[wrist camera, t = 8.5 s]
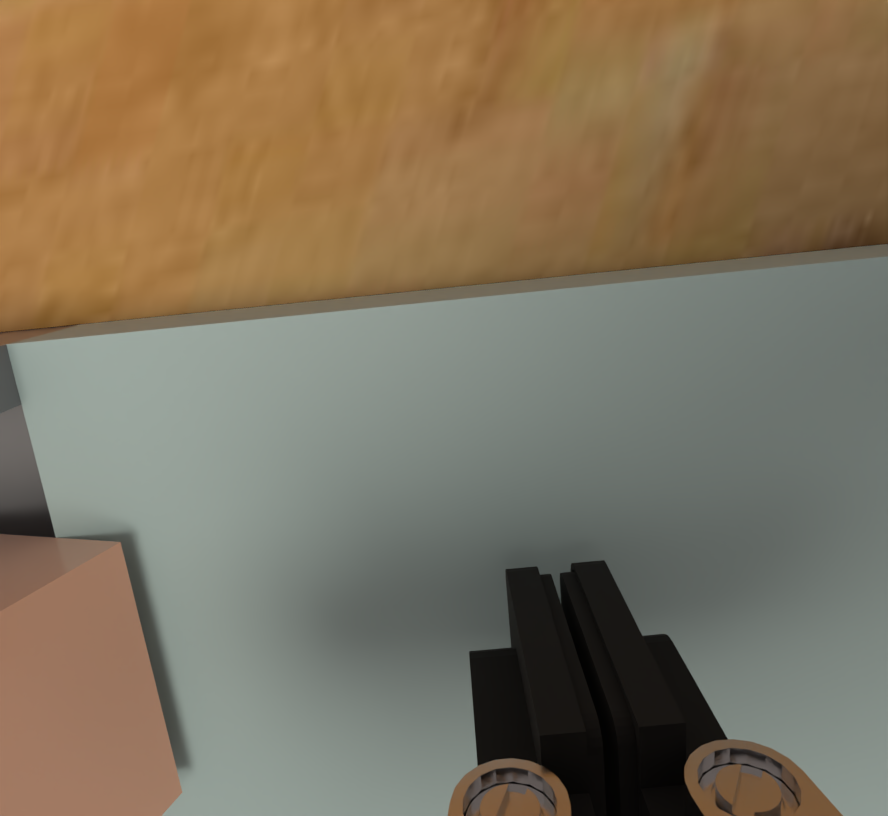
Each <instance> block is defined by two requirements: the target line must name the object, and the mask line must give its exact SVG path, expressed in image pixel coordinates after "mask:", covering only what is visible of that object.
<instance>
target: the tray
mask: <svg viewBox="0 0 888 816" xmlns="http://www.w3.org/2000/svg"><path fill="white" fill-rule="evenodd" d="M79 325H80V324H79ZM73 326H77V325H69V326H59V327H49V328H39V329H29V330H19V331H9V332H0V534H7V535H23V536H38V537H53V538H56V536H55V533H54V529H53V525H52V521H51V517H50V513H49V509H48V505H47V501H46V498H45V494H44V490H43V486H42V482H41V478H40V474H39V470H38V466H37V463H36V459H35V455H34V451H33V447H32V443H31V439H30V435H29V431H28V428H27V424H26V420H25V416H24V412H23V408H22V404H21V400H20V396H19V392H18V389H17V385H16V381H15V377H14V373H13V369H12V365H11V361H10V357H9V354H8V350H7V346H6V344H10V343H13V342H17V341H21V340H25V339H28V338H32V337H36V336H39V335H43V334H47V333H51V332H54V331H58V330H62V329H65V328H69V327H73Z"/></svg>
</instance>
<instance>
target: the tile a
mask: <svg viewBox="0 0 888 816" xmlns="http://www.w3.org/2000/svg"><path fill="white" fill-rule="evenodd" d="M181 793H182V789H181V785H180V781H179V776H178V772H177V768H176V764H175V760H174V756H173V752H172V748H171V744H170V740H169V736H168V732H167V728H166V724H165V720H164V716H163V712H162V708H161V704H160V700H159V696H158V692H157V687H156V683H155V679H154V675H153V671H152V667H151V663H150V659H149V655H148V651H147V647H146V643H145V639H144V635H143V631H142V627H141V623H140V619H139V615H138V611H137V607H136V603H135V598H134V594H133V590H132V586H131V582H130V578H129V574H128V570H127V566H126V562H125V558H124V554H123V550H122V546H121V542H114V541H99V540H84V539H68V538H53V537H38V536H23V535H7V534H0V816H162V815H163V814H164V812H165V811H166V810H167V809H168V808H169V807H170V806H171V805H172V803H173V802H174V801H175V800H176V799H177V798H178V797H179V796H180V794H181Z"/></svg>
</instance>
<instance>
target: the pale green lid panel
mask: <svg viewBox="0 0 888 816" xmlns="http://www.w3.org/2000/svg"><path fill="white" fill-rule="evenodd" d="M6 346H7V350H8V354H9V357H10V361H11V365H12V369H13V373H14V377H15V381H16V385H17V389H18V392H19V396H20V400H21V404H22V408H23V412H24V416H25V420H26V424H27V428H28V431H29V435H30V439H31V443H32V447H33V451H34V455H35V459H36V463H37V466H38V470H39V474H40V478H41V482H42V486H43V490H44V494H45V498H46V501H47V505H48V509H49V513H50V517H51V521H52V525H53V529H54V533H55V536H56V538H68V539H84V540H99V541H114V542H121V546H122V550H123V554H124V558H125V562H126V566H127V570H128V574H129V578H130V582H131V586H132V590H133V594H134V598H135V603H136V607H137V611H138V615H139V619H140V623H141V627H142V631H143V635H144V639H145V643H146V647H147V651H148V655H149V659H150V663H151V667H152V671H153V675H154V679H155V683H156V687H157V692H158V696H159V700H160V704H161V708H162V712H163V716H164V720H165V724H166V728H167V732H168V736H169V740H170V744H171V748H172V752H173V756H174V760H175V764H176V768H177V772H178V776H179V781H180V785H181V789H182V793H181V794H180V796H179V797H178V798H177V799H176V800H175V801H174V802H173V803H172V805H171V806H170V807H169V808H168V809H167V810H166V811H165V812H164V814H163V815H162V816H448V810H449V804H450V800H451V797H452V794H453V791H454V789H455V786H456V785H457V784H458V783H459V781H460V780H461V779H462V778H463V777H464V775H465V774H467V773H468V772H470V771H471V770H473V769H474V768H476V767H477V766H478V765H477V752H476V738H475V725H474V712H473V698H472V685H471V672H470V658H469V651H477V650H488V649H499V648H511V638H510V626H509V613H508V601H507V588H506V574H505V570H506V569H513V568H524V567H535V566H537V567H538V570H539V573H540V575H541V574H551V575H552V578H553V581H554V584H555V587H556V590H557V593H558V596H559V600H560V603H561V593H560V573H563V572H571V563H579V562H590V561H601V560H604V561H605V562H606V564H607V566H608V568H609V570H610V572H611V574H612V576H613V578H614V580H615V582H616V584H617V586H618V588H619V590H620V592H621V594H622V596H623V598H624V600H625V602H626V604H627V606H628V608H629V610H630V612H631V614H632V616H633V618H634V620H635V622H636V624H637V626H638V628H639V630H640V632H641V634H642V636H645V635H656V634H666V635H668V636H669V637H670V638H671V640H672V641H673V643H674V645H675V647H676V648H677V650H678V652H679V654H680V655H681V657H682V659H683V661H684V663H685V664H686V666H687V668H688V670H689V671H690V673H691V675H692V677H693V678H694V680H695V682H696V684H697V685H698V687H699V689H700V691H701V693H702V694H703V696H704V698H705V700H706V701H707V703H708V705H709V707H710V708H711V710H712V712H713V714H714V716H715V717H716V719H717V721H718V723H719V724H720V726H721V728H722V730H723V731H724V733H725V735H726V737H727V738H728V739H736V740H743V741H751V742H755V743H758V744H761V745H763V746H766V747H769V748H772V749H774V750H775V751H777V752H779V753H781V754H783V755H784V756H786V757H788V758H789V759H791V760H792V761H793V762H794V763H795V764H796V765H797V766H798V767H800V768H801V769H802V770H803V771H804V772H805V773H806V774H807V776H808V777H809V778H810V779H811V780H812V781H813V782H814V783H815V785H816V786H817V787H818V788H819V789H820V790H821V791H822V793H823V794H824V795H825V796H826V797H827V798H828V799H829V800H830V802H831V803H832V804H833V805H834V806H835V807H836V808H837V810H838V811H839V812H840V813H841V814H842V815H843V816H888V244H881V245H871V246H861V247H851V248H841V249H831V250H821V251H811V252H801V253H791V254H781V255H770V256H760V257H750V258H740V259H730V260H720V261H710V262H700V263H690V264H680V265H670V266H660V267H650V268H640V269H630V270H620V271H610V272H600V273H590V274H580V275H570V276H560V277H550V278H540V279H530V280H520V281H510V282H500V283H490V284H480V285H470V286H460V287H450V288H440V289H430V290H420V291H410V292H400V293H390V294H380V295H370V296H360V297H350V298H340V299H330V300H320V301H310V302H300V303H290V304H280V305H270V306H260V307H250V308H240V309H229V310H219V311H209V312H199V313H189V314H179V315H169V316H159V317H149V318H139V319H129V320H119V321H109V322H99V323H89V324H80V325H77V326H73V327H69V328H65V329H62V330H58V331H54V332H51V333H47V334H43V335H39V336H36V337H32V338H28V339H25V340H21V341H17V342H13V343H10V344H6Z"/></svg>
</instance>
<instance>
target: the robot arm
mask: <svg viewBox="0 0 888 816" xmlns="http://www.w3.org/2000/svg"><path fill="white" fill-rule="evenodd" d="M505 574H506V588H507V601H508V613H509V626H510V638H511V648H499V649H488V650H477V651H469V658H470V672H471V685H472V698H473V712H474V725H475V738H476V752H477V765H478V766H477V767H476V768H474V769H473V770H471V771H470V772H468V773H467V774H465V775H464V777H463V778H462V779H461V780H460V781H459V783H458V784H457V785H456V786H455V789H454V791H453V794H452V797H451V800H450V804H449V810H448V816H843V815H842V814H841V813H840V812H839V811H838V810H837V808H836V807H835V806H834V805H833V804H832V803H831V802H830V800H829V799H828V798H827V797H826V796H825V795H824V794H823V793H822V791H821V790H820V789H819V788H818V787H817V786H816V785H815V783H814V782H813V781H812V780H811V779H810V778H809V777H808V776H807V774H806V773H805V772H804V771H803V770H802V769H801V768H800V767H798V766H797V765H796V764H795V763H794V762H793V761H792V760H791V759H789V758H788V757H786V756H784V755H783V754H781V753H779V752H777V751H775V750H774V749H772V748H769V747H766V746H763V745H761V744H758V743H755V742H751V741H743V740H736V739H728V738H727V737H726V735H725V733H724V731H723V730H722V728H721V726H720V724H719V723H718V721H717V719H716V717H715V716H714V714H713V712H712V710H711V708H710V707H709V705H708V703H707V701H706V700H705V698H704V696H703V694H702V693H701V691H700V689H699V687H698V685H697V684H696V682H695V680H694V678H693V677H692V675H691V673H690V671H689V670H688V668H687V666H686V664H685V663H684V661H683V659H682V657H681V655H680V654H679V652H678V650H677V648H676V647H675V645H674V643H673V641H672V640H671V638H670V637H669V636H668V635H666V634H656V635H645V636H642V634H641V632H640V630H639V628H638V626H637V624H636V622H635V620H634V618H633V616H632V614H631V612H630V610H629V608H628V606H627V604H626V602H625V600H624V598H623V596H622V594H621V592H620V590H619V588H618V586H617V584H616V582H615V580H614V578H613V576H612V574H611V572H610V570H609V568H608V566H607V564H606V562H605V561H604V560H601V561H590V562H579V563H571V572H563V573H560V593H561V603H560V600H559V596H558V593H557V590H556V587H555V584H554V581H553V578H552V575H551V574H541V575H540V573H539V570H538V567H537V566H535V567H524V568H513V569H506V570H505Z"/></svg>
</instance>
